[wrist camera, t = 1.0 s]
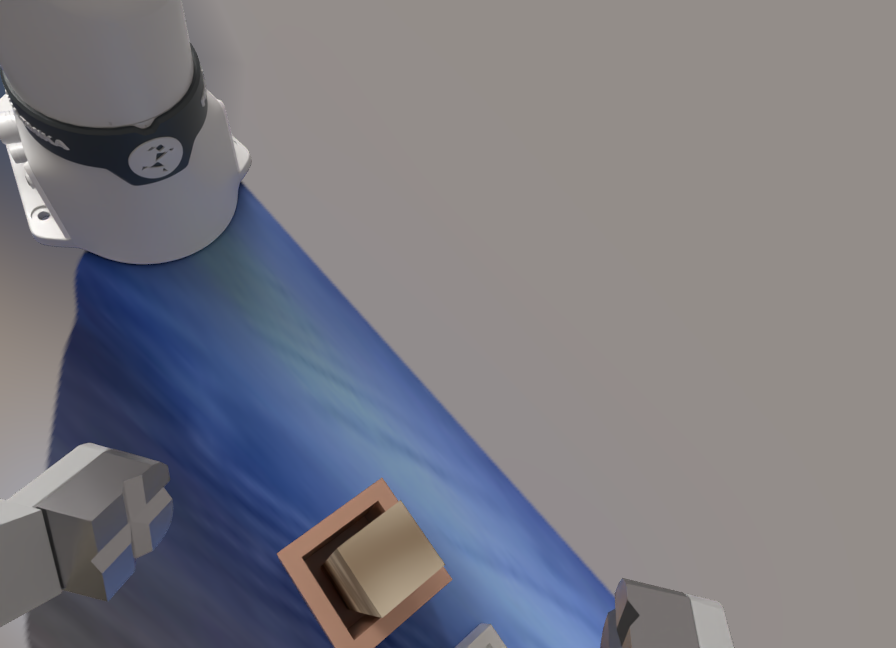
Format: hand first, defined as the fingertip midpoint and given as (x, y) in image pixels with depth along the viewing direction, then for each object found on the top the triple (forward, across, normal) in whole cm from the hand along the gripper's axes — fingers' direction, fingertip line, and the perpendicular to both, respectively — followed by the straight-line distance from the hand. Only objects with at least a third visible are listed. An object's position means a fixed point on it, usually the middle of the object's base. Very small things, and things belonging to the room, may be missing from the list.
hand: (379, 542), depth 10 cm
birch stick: (+21, +7, +26) cm, 34 cm away
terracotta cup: (+21, +7, +27) cm, 35 cm away
